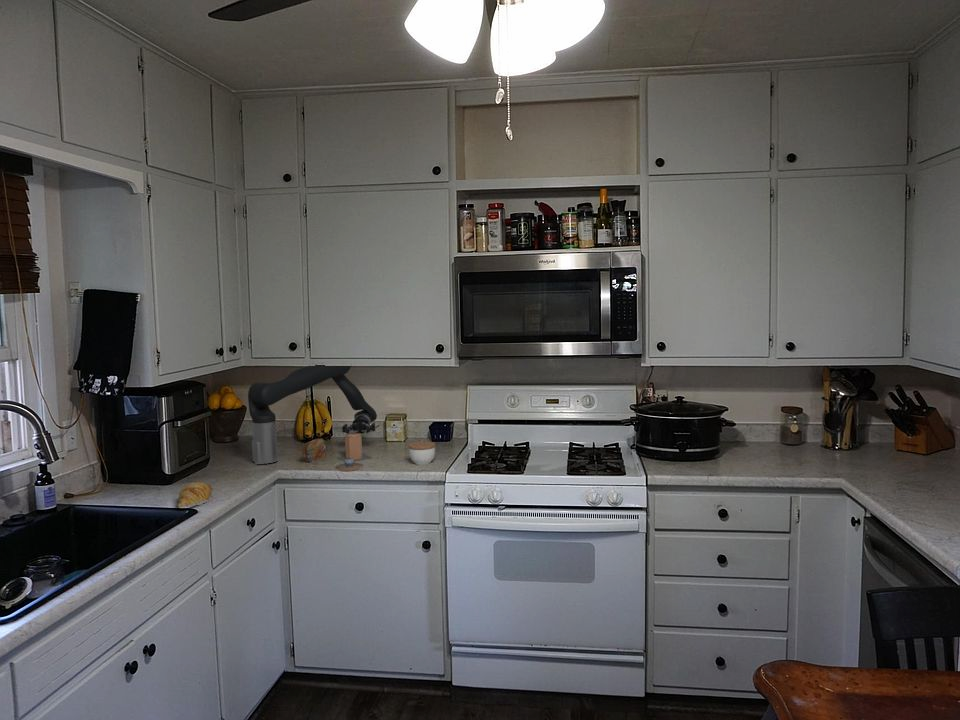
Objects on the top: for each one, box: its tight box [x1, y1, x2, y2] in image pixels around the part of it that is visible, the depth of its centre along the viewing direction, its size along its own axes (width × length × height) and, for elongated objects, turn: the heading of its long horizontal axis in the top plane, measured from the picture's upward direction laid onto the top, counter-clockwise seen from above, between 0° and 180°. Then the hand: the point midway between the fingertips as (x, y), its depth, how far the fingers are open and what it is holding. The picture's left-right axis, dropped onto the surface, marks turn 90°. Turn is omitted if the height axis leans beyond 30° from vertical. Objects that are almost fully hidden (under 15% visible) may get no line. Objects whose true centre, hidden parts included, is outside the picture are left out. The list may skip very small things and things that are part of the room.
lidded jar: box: [408, 439, 436, 466], centre depth 277 cm, size 11×11×9 cm
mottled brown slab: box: [302, 438, 328, 463], centre depth 287 cm, size 15×3×8 cm, turn 161°
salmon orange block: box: [344, 432, 363, 460], centre depth 287 cm, size 6×6×10 cm
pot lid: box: [334, 458, 364, 472], centre depth 272 cm, size 11×11×3 cm
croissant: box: [177, 481, 213, 508], centre depth 231 cm, size 21×10×8 cm, turn 178°
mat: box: [335, 453, 374, 463], centre depth 287 cm, size 12×12×1 cm
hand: (357, 431), depth 298 cm, fingers open, 8 cm apart
